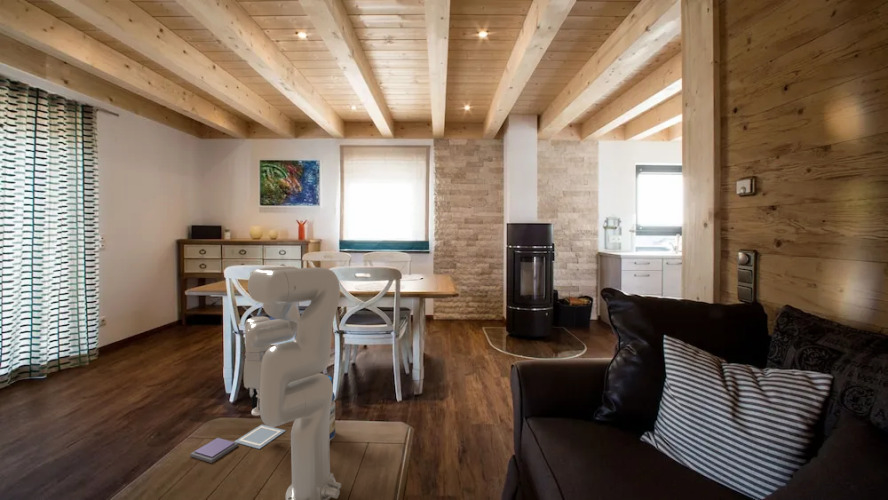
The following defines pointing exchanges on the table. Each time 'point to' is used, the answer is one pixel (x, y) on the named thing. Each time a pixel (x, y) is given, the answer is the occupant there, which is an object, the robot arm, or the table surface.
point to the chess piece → (256, 410)
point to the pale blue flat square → (260, 436)
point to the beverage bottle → (332, 416)
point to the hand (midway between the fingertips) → (259, 407)
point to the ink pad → (214, 450)
